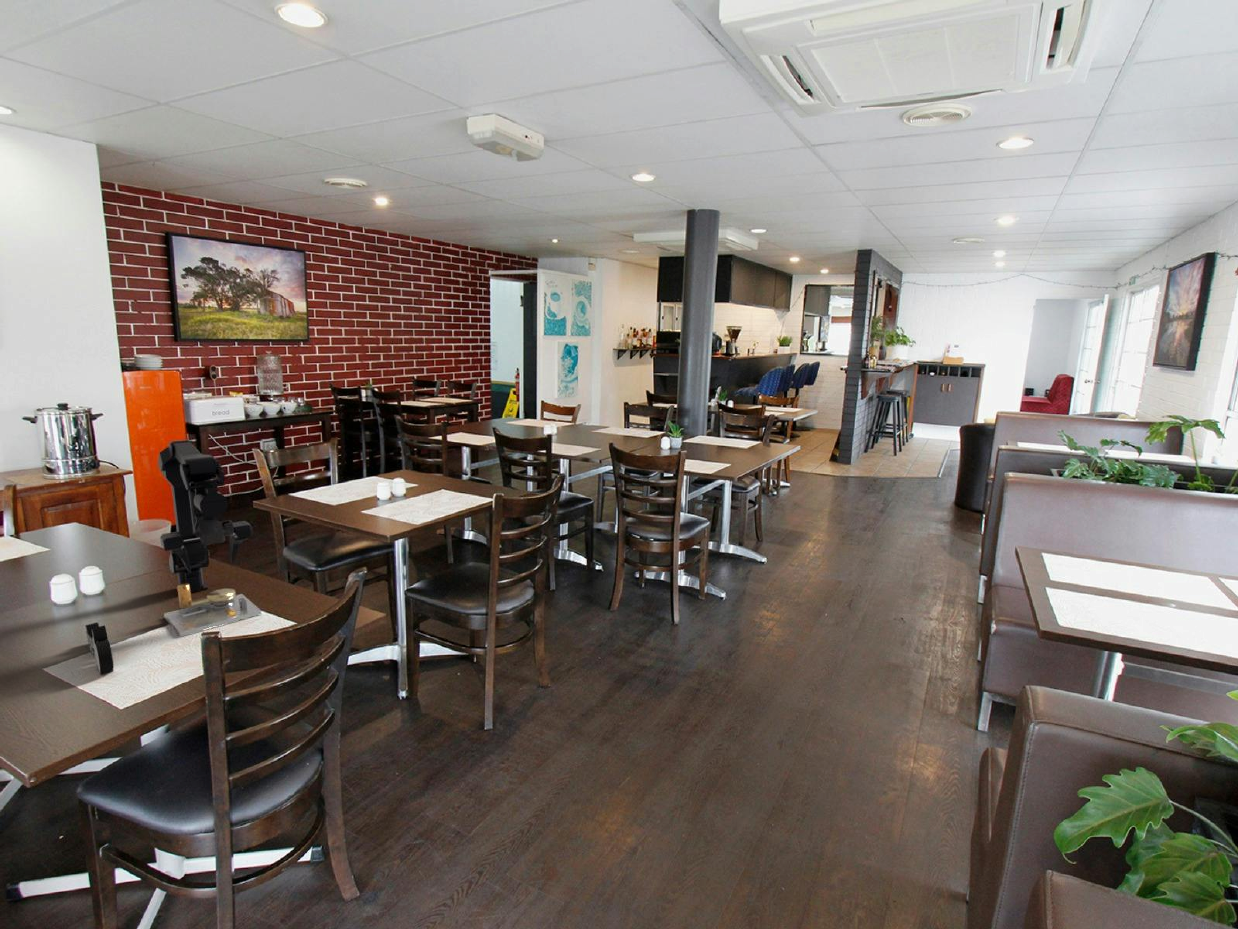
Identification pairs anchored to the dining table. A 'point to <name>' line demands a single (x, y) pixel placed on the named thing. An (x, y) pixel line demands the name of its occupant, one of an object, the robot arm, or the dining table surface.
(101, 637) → the logo
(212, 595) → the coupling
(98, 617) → the dining table surface
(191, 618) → the base
